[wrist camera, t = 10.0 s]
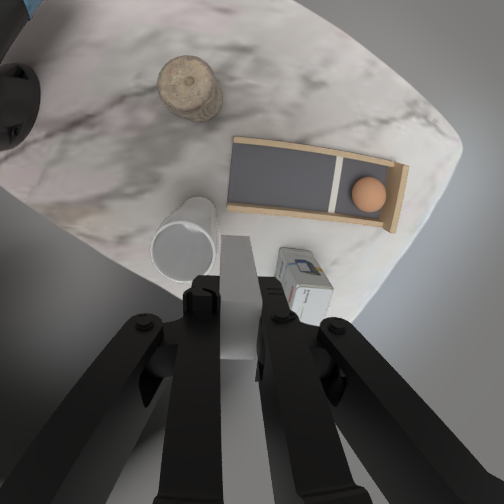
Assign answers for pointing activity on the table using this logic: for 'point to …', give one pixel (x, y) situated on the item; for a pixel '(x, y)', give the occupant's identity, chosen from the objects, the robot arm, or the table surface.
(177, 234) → the drinking glass
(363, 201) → the ball
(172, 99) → the carving
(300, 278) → the ink box
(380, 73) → the table surface
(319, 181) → the lane
